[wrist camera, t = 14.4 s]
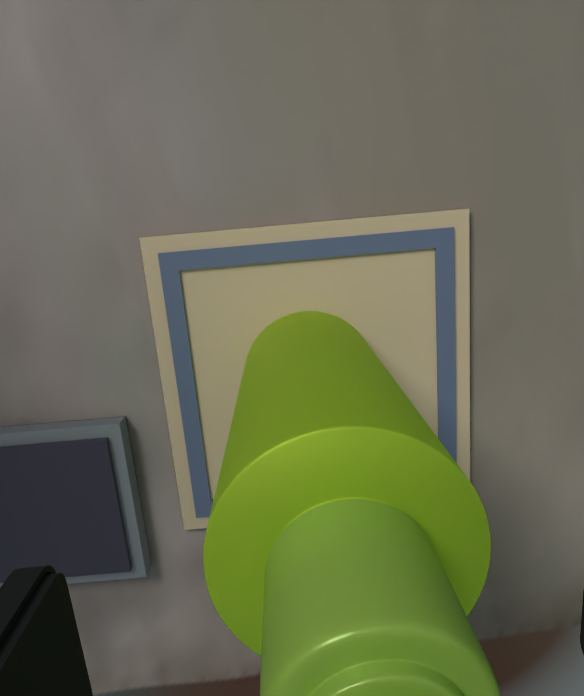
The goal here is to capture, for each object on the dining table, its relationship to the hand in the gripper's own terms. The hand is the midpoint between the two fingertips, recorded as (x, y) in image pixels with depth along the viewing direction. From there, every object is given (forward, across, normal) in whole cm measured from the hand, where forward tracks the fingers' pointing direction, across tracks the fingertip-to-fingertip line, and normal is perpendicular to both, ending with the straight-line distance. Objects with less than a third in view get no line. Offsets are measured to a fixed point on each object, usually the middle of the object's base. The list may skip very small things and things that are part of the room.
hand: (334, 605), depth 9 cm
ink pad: (+15, +13, +6) cm, 21 cm away
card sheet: (+15, -1, +1) cm, 15 cm away
